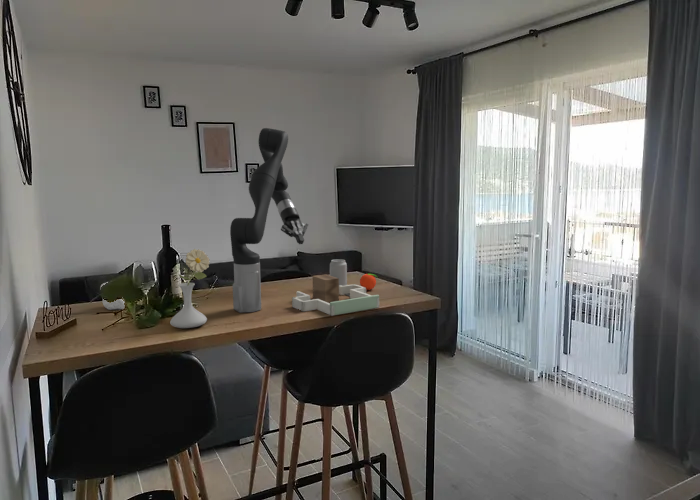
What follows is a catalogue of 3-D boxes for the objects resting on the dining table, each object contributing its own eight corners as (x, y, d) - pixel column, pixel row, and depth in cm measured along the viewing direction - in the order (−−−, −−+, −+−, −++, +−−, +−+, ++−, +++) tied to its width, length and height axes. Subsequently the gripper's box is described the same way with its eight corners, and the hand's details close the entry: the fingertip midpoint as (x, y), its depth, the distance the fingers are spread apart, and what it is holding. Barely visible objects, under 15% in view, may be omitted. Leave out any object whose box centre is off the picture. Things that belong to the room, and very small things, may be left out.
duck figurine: (106, 311, 189) (85, 291, 183) (121, 297, 193) (101, 276, 186) (120, 317, 181) (98, 296, 175) (135, 302, 185) (115, 281, 178)
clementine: (378, 288, 217) (379, 272, 216) (378, 291, 210) (378, 275, 209) (360, 287, 218) (360, 271, 217) (359, 291, 211) (359, 274, 210)
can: (350, 286, 220) (350, 259, 218) (338, 289, 214) (338, 262, 213) (338, 284, 225) (338, 258, 223) (326, 287, 219) (325, 260, 218)
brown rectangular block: (325, 303, 191) (325, 280, 190) (312, 298, 200) (312, 275, 199) (338, 301, 195) (338, 278, 193) (325, 296, 203) (325, 274, 202)
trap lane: (317, 318, 171) (316, 305, 170) (283, 302, 193) (282, 290, 192) (391, 305, 188) (391, 293, 187) (352, 291, 210) (352, 281, 209)
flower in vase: (171, 333, 155) (167, 253, 152) (169, 323, 165) (164, 248, 162) (214, 328, 160) (211, 250, 157) (209, 319, 171) (206, 246, 167)
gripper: (276, 206, 213) (290, 238, 204) (304, 205, 220) (318, 236, 211) (271, 218, 218) (284, 249, 209) (298, 217, 225) (312, 247, 217)
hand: (301, 242), depth 210 cm, fingers closed
